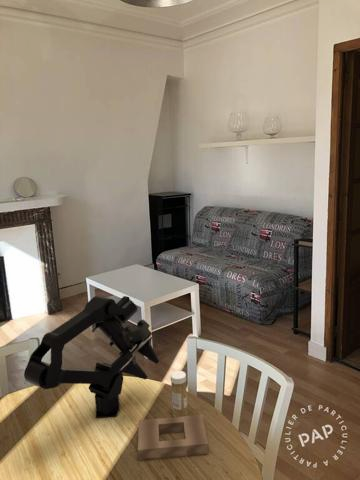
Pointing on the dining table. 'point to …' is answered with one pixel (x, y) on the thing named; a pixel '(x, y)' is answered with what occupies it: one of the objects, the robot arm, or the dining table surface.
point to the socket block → (174, 448)
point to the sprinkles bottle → (179, 394)
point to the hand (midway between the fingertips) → (152, 370)
